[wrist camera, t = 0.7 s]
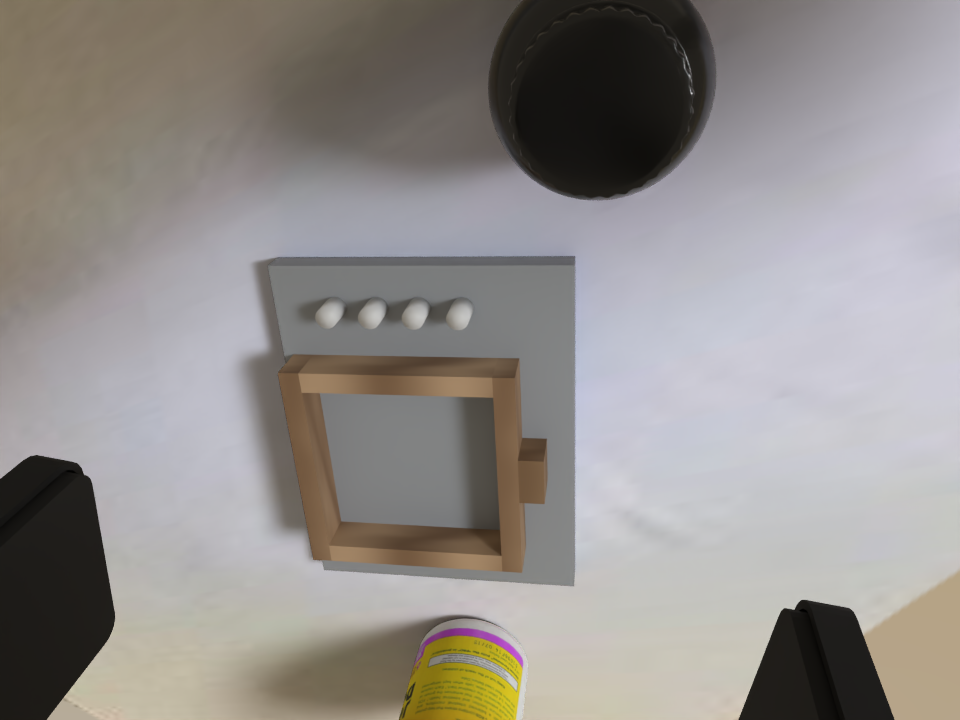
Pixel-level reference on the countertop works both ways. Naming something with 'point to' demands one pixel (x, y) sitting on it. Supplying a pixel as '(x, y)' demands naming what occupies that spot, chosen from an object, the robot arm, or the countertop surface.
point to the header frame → (413, 376)
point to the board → (440, 419)
